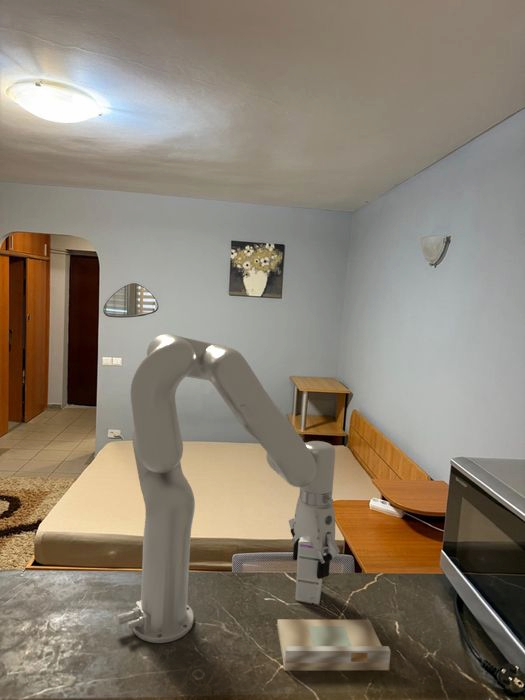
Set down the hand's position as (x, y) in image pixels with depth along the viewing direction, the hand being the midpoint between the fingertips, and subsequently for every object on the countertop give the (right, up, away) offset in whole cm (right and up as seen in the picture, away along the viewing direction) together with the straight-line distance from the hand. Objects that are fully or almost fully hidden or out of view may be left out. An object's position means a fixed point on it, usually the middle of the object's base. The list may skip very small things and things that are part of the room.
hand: (310, 567), depth 107 cm
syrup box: (0, -7, +1) cm, 7 cm away
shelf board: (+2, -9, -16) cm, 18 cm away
